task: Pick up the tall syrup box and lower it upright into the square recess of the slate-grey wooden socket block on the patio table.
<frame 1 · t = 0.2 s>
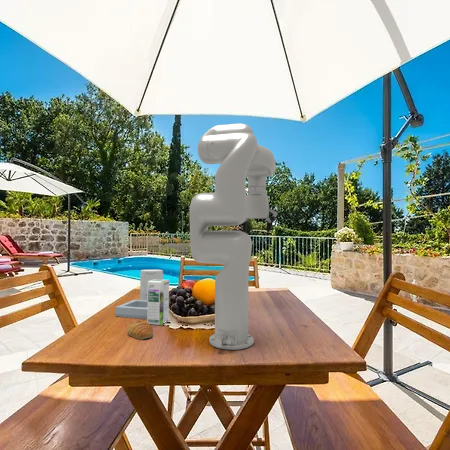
hand: (256, 232, 134), 31 cm above the table, tool pointing down, fingers open, 9 cm apart
socket block: (140, 313, 121), on the table
pastry: (141, 336, 97), on the table
skincare box: (151, 305, 136), on the table
syrup box: (158, 323, 110), on the table
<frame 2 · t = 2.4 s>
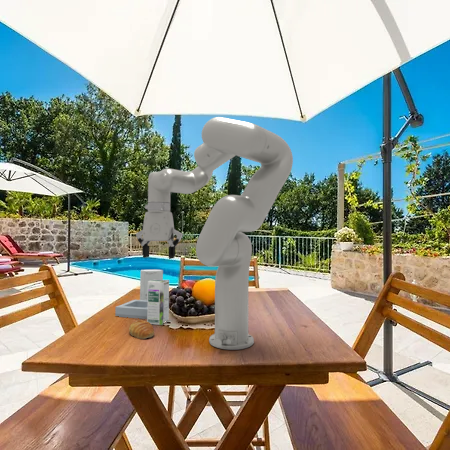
hand: (158, 257, 110), 22 cm above the table, tool pointing down, fingers open, 9 cm apart
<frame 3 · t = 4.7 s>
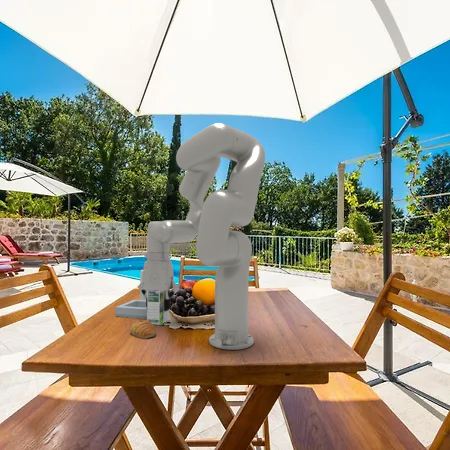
hand: (158, 309, 110), 5 cm above the table, tool pointing down, fingers closed on syrup box, 5 cm apart
syrup box: (158, 323, 110), on the table, touching gripper
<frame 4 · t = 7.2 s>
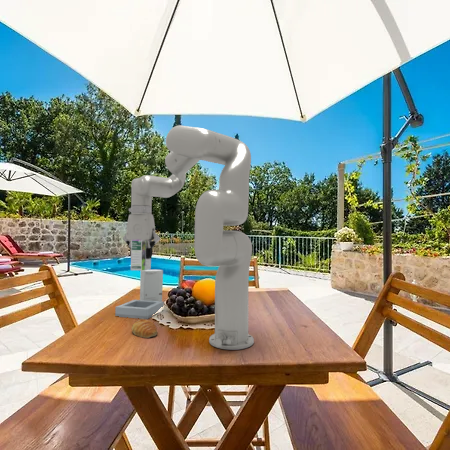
hand: (141, 257, 122), 21 cm above the table, tool pointing down, fingers closed on syrup box, 5 cm apart
syrup box: (141, 270, 122), point 16 cm above the table, touching gripper
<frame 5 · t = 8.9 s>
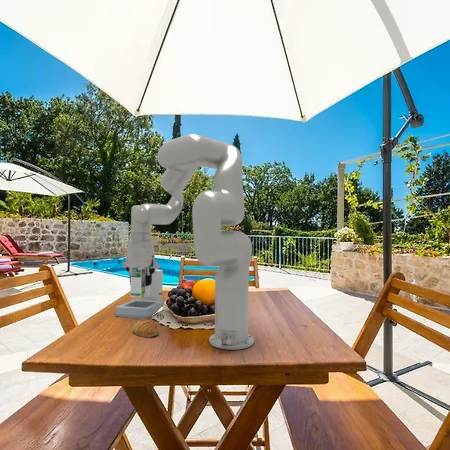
hand: (140, 284, 122), 11 cm above the table, tool pointing down, fingers closed on syrup box, 5 cm apart
syrup box: (140, 296, 122), point 6 cm above the table, touching gripper
when the fingers open (7 cm above the table, at t = 10.2 s): syrup box drops 1 cm, resting on socket block.
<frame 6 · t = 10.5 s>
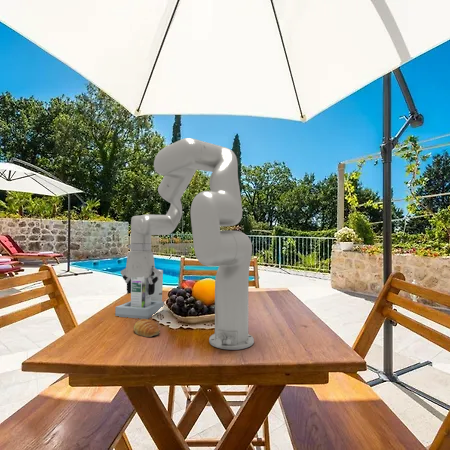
hand: (140, 293, 121), 8 cm above the table, tool pointing down, fingers open, 8 cm apart
syrup box: (140, 311, 121), point 1 cm above the table, touching socket block
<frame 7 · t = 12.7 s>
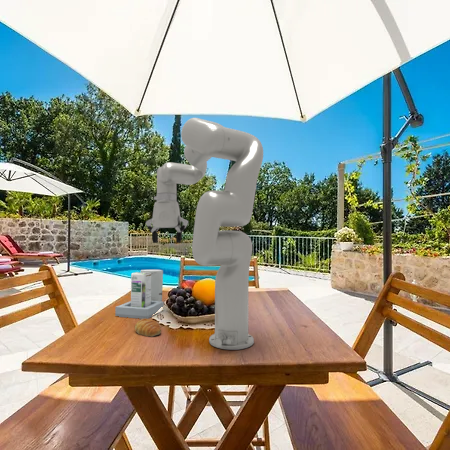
hand: (166, 242, 124), 27 cm above the table, tool pointing down, fingers open, 9 cm apart
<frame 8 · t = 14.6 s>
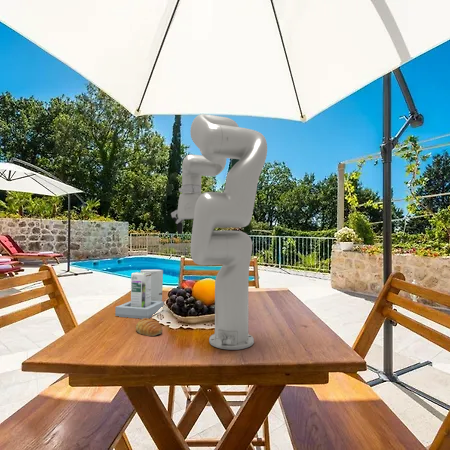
hand: (191, 233, 126), 30 cm above the table, tool pointing down, fingers open, 9 cm apart
at the end: syrup box 0.3 cm off-centre on the socket block, point 0.8 cm above the socket block's base; syrup box tilted 0°; the gripper is holding nothing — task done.
